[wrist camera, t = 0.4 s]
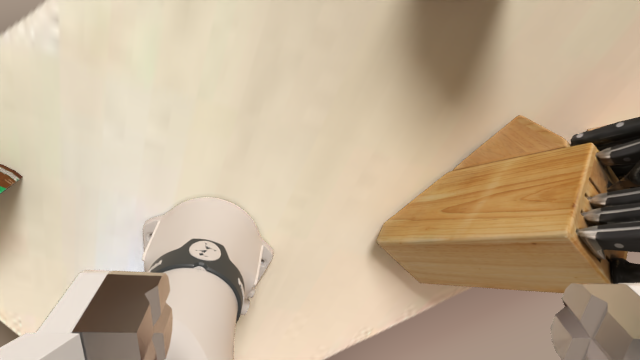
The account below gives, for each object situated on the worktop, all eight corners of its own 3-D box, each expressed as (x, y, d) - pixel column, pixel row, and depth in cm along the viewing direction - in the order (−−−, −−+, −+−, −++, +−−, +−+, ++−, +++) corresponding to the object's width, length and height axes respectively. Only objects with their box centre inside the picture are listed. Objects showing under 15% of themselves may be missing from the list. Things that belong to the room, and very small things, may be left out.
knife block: (618, 123, 59) (913, 254, 31) (416, 272, 68) (504, 478, 40) (580, 62, 55) (878, 149, 27) (370, 228, 64) (433, 423, 36)
